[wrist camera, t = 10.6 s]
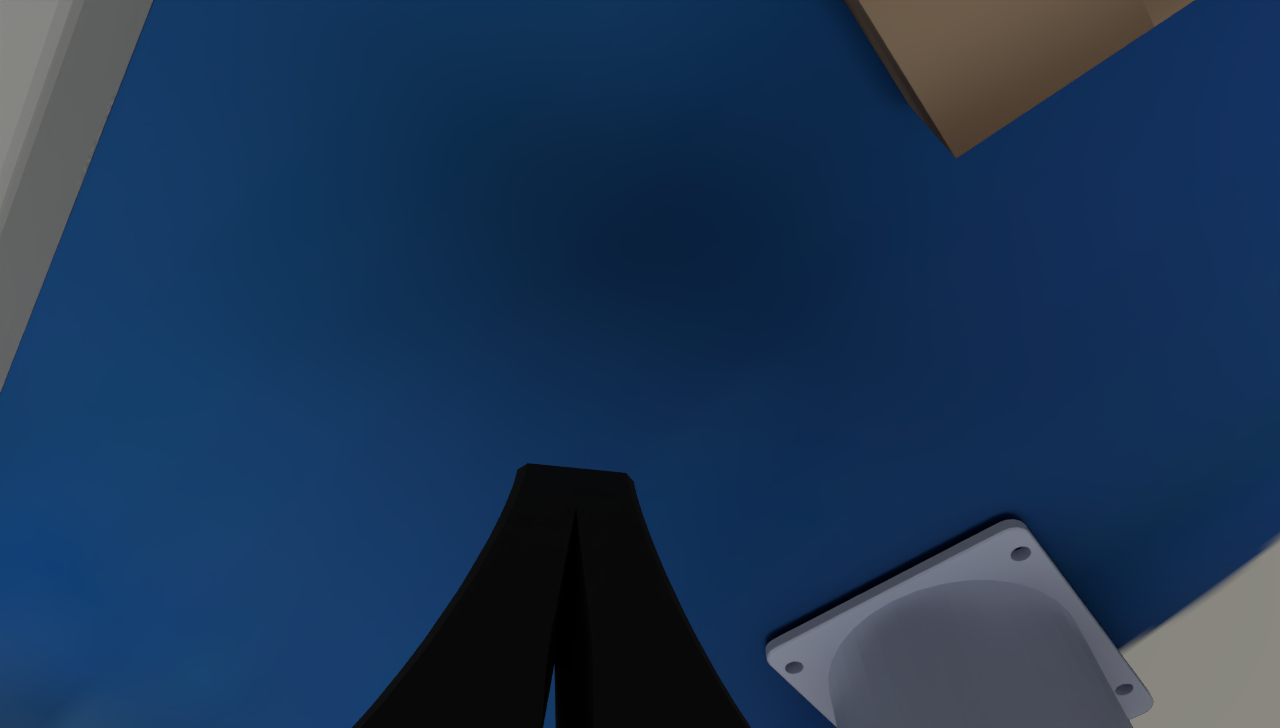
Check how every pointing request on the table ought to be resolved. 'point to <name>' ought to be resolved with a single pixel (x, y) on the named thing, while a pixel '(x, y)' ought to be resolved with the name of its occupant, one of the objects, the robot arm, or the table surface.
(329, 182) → the table surface
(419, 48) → the table surface
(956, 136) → the block
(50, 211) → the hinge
